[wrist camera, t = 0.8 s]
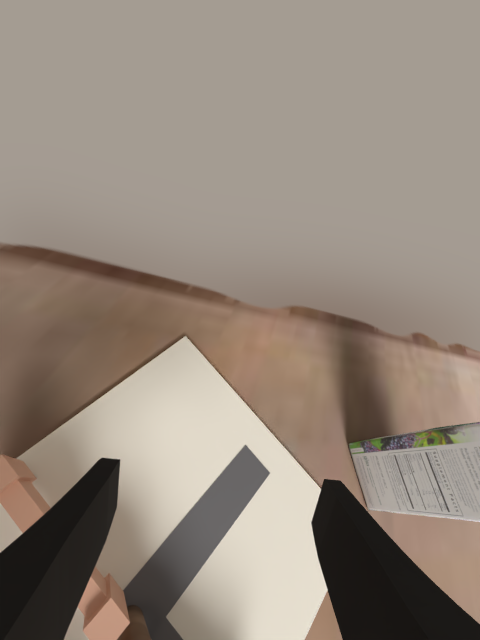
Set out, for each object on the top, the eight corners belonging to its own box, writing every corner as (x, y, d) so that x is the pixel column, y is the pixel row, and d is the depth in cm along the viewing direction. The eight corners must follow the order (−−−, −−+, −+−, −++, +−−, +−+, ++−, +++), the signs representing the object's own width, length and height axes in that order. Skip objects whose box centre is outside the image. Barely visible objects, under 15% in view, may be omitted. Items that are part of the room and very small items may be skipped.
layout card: (137, 989, 13) (138, 1003, 13) (-141, 573, 15) (-147, 575, 15) (352, 527, 26) (356, 528, 25) (184, 337, 28) (185, 335, 27)
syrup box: (387, 435, 32) (557, 405, 20) (410, 499, 29) (620, 509, 17) (346, 443, 29) (510, 414, 17) (367, 514, 27) (575, 536, 15)
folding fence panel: (124, 593, 18) (131, 624, 14) (103, 618, 17) (104, 659, 13) (22, 460, 19) (0, 452, 15) (-3, 478, 18) (-33, 475, 14)
